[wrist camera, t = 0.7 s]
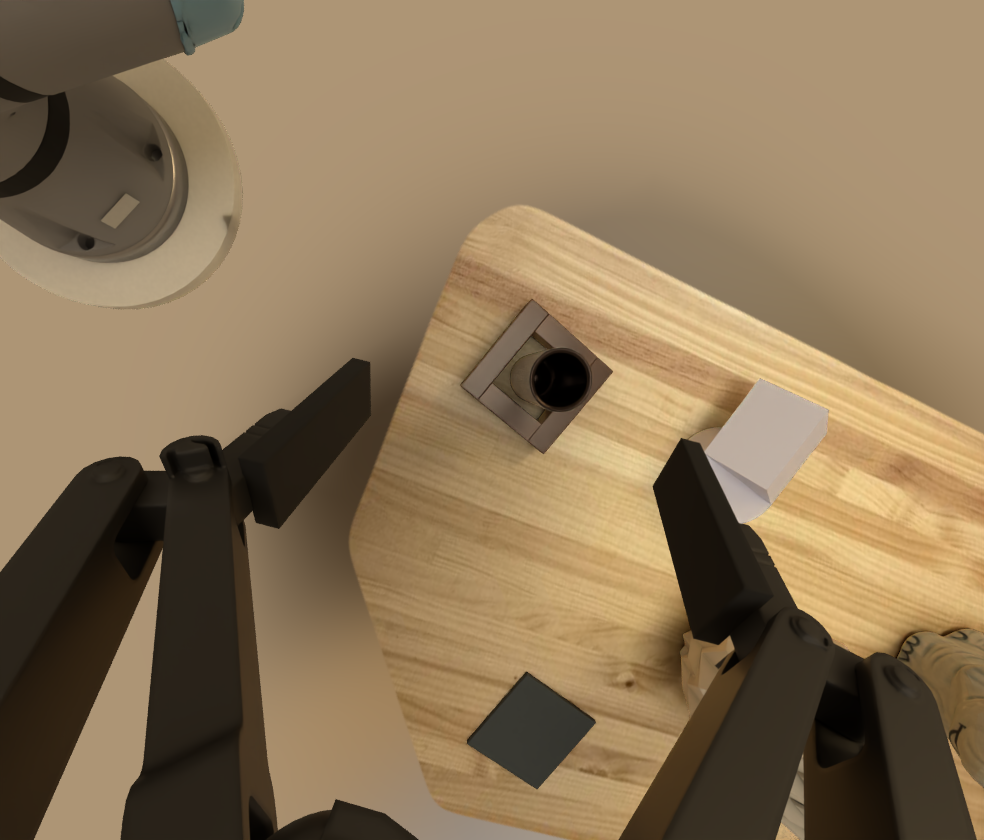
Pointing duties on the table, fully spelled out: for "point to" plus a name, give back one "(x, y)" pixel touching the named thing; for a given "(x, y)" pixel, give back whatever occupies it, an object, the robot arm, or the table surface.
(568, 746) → the mat
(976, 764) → the elephant cookie jar
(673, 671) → the table surface
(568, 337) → the brown square frame
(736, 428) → the wedge on round base
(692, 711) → the vase
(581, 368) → the beige hollow cylinder
